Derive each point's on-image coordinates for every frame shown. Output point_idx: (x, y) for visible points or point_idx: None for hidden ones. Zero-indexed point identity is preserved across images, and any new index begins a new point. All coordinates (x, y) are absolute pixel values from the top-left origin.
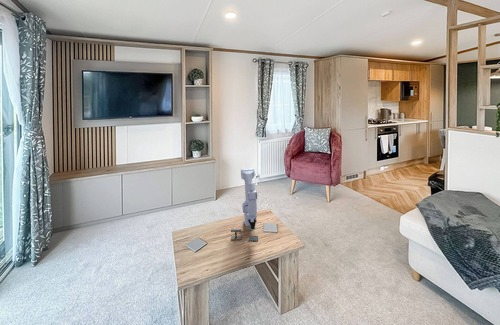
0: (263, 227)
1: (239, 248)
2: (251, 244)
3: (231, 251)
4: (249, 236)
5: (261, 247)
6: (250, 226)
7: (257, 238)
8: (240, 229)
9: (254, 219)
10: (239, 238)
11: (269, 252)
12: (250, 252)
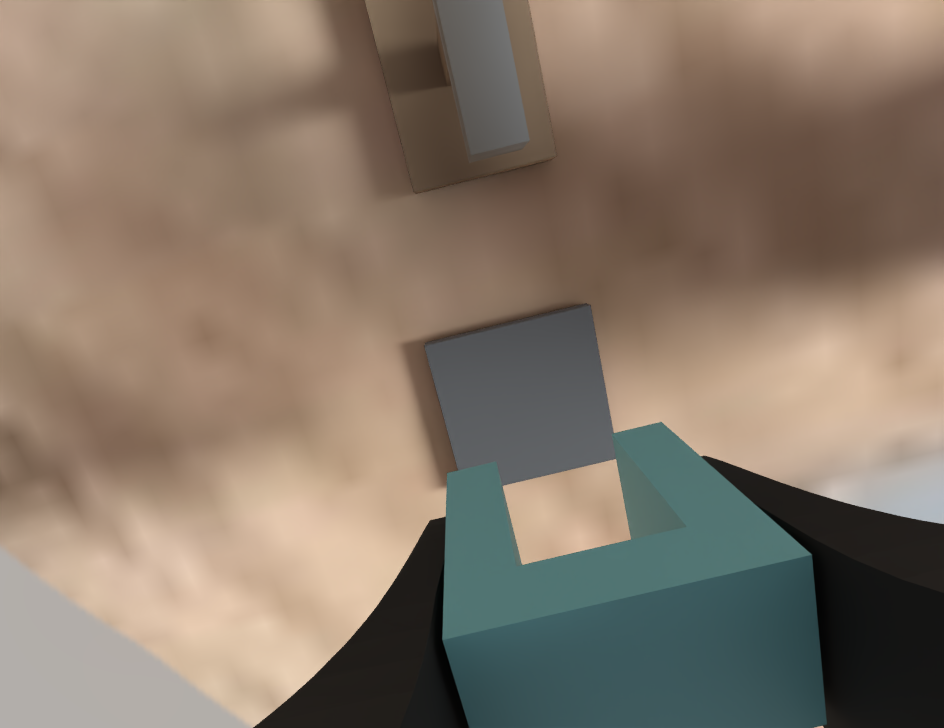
0: (929, 453)
1: (165, 256)
2: (352, 414)
3: (16, 142)
4: (562, 321)
5: (318, 572)
6: (446, 537)
7: (523, 472)
8: (516, 132)
9: (796, 719)
10: (427, 156)
11: (236, 691)
12: (131, 463)
